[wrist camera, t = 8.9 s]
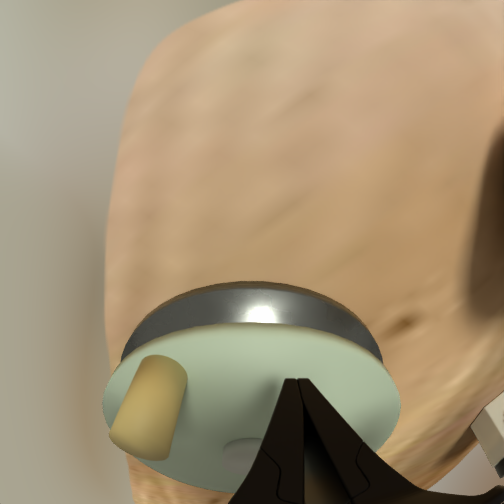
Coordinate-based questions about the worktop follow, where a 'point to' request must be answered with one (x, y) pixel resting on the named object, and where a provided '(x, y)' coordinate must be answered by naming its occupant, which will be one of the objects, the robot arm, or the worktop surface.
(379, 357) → the grey metal shallow dish
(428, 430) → the worktop surface
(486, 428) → the jar
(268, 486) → the robot arm
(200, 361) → the handwheel
